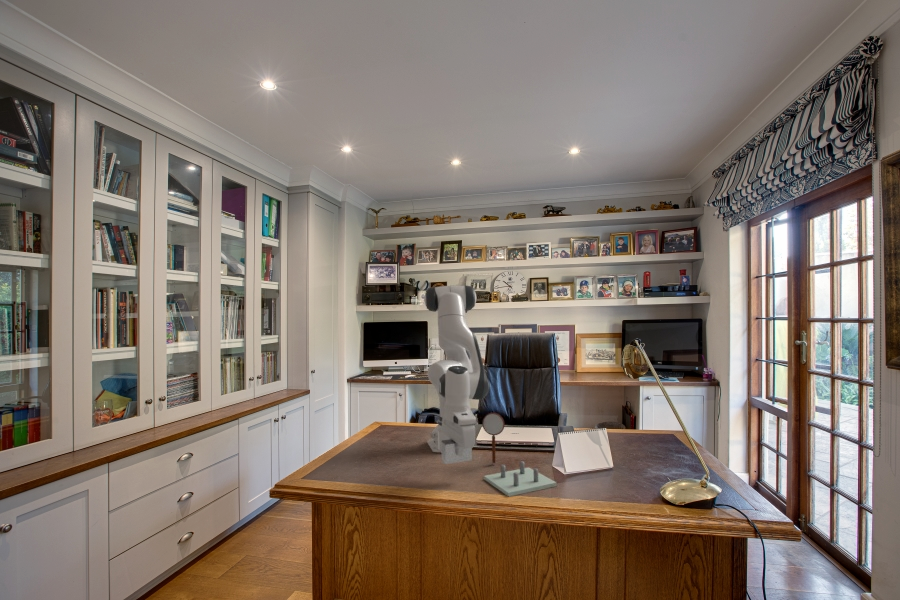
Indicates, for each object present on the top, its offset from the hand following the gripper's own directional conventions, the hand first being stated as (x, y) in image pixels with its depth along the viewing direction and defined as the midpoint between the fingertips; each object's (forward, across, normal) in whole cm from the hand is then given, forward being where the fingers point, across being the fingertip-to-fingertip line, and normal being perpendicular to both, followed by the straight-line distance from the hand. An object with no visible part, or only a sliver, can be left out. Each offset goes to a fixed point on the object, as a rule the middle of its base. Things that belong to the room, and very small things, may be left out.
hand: (456, 453), depth 146 cm
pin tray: (+9, +10, +20) cm, 24 cm away
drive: (+2, 0, 0) cm, 2 cm away
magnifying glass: (+10, -9, +20) cm, 24 cm away
